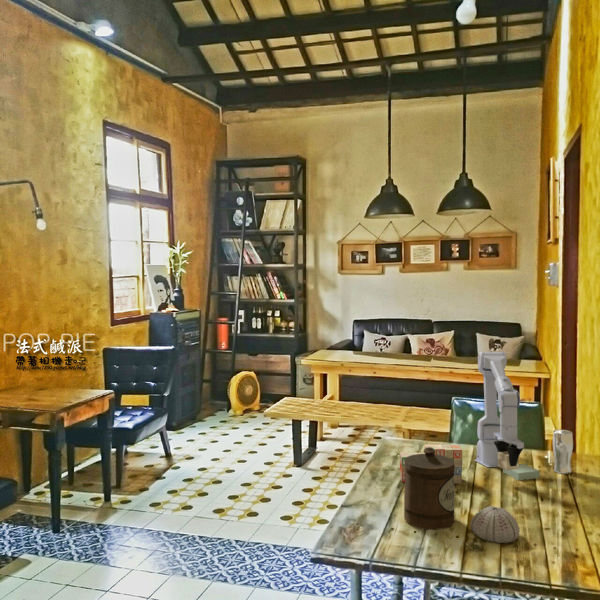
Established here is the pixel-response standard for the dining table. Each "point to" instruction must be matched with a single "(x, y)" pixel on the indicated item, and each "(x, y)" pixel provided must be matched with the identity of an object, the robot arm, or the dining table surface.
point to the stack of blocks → (444, 450)
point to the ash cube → (506, 461)
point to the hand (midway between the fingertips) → (508, 463)
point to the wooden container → (429, 490)
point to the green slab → (523, 472)
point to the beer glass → (562, 450)
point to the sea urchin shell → (495, 525)
